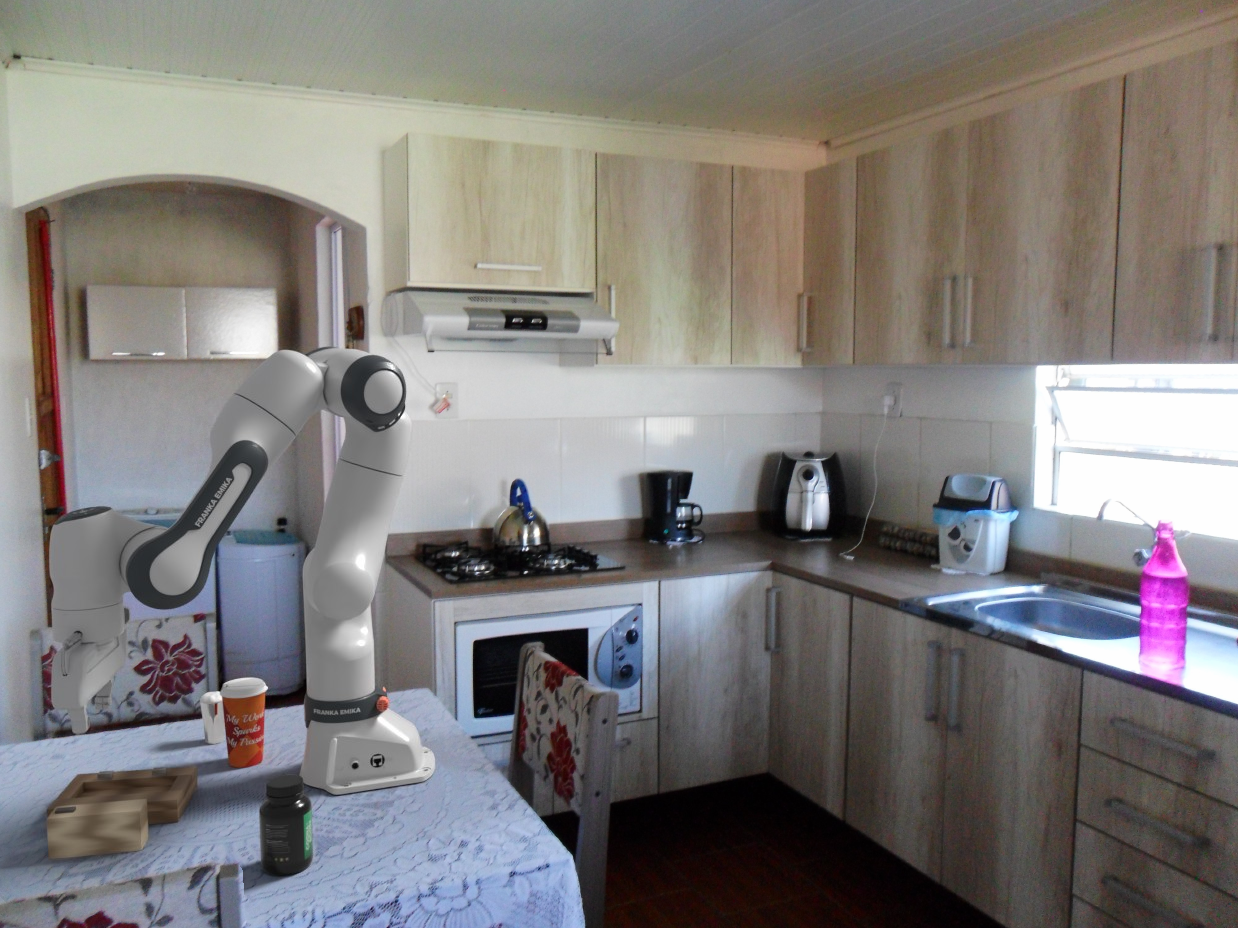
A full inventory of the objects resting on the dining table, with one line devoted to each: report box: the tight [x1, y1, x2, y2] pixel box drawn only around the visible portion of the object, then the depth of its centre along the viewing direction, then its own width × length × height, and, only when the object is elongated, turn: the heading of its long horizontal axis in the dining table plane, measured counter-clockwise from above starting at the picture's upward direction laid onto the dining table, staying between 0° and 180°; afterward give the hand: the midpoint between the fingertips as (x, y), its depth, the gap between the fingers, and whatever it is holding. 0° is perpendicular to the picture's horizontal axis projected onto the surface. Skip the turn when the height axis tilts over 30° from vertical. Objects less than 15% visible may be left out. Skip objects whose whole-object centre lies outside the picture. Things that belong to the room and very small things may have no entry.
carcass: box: [46, 765, 199, 825], centre depth 153 cm, size 18×13×4 cm
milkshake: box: [199, 691, 226, 745], centre depth 181 cm, size 4×5×10 cm
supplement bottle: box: [258, 773, 314, 877], centre depth 135 cm, size 7×7×12 cm
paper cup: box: [219, 677, 269, 769], centre depth 171 cm, size 8×8×14 cm
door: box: [46, 799, 149, 860], centre depth 140 cm, size 12×4×6 cm, turn 103°
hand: (92, 719), depth 139 cm, fingers open, 8 cm apart
